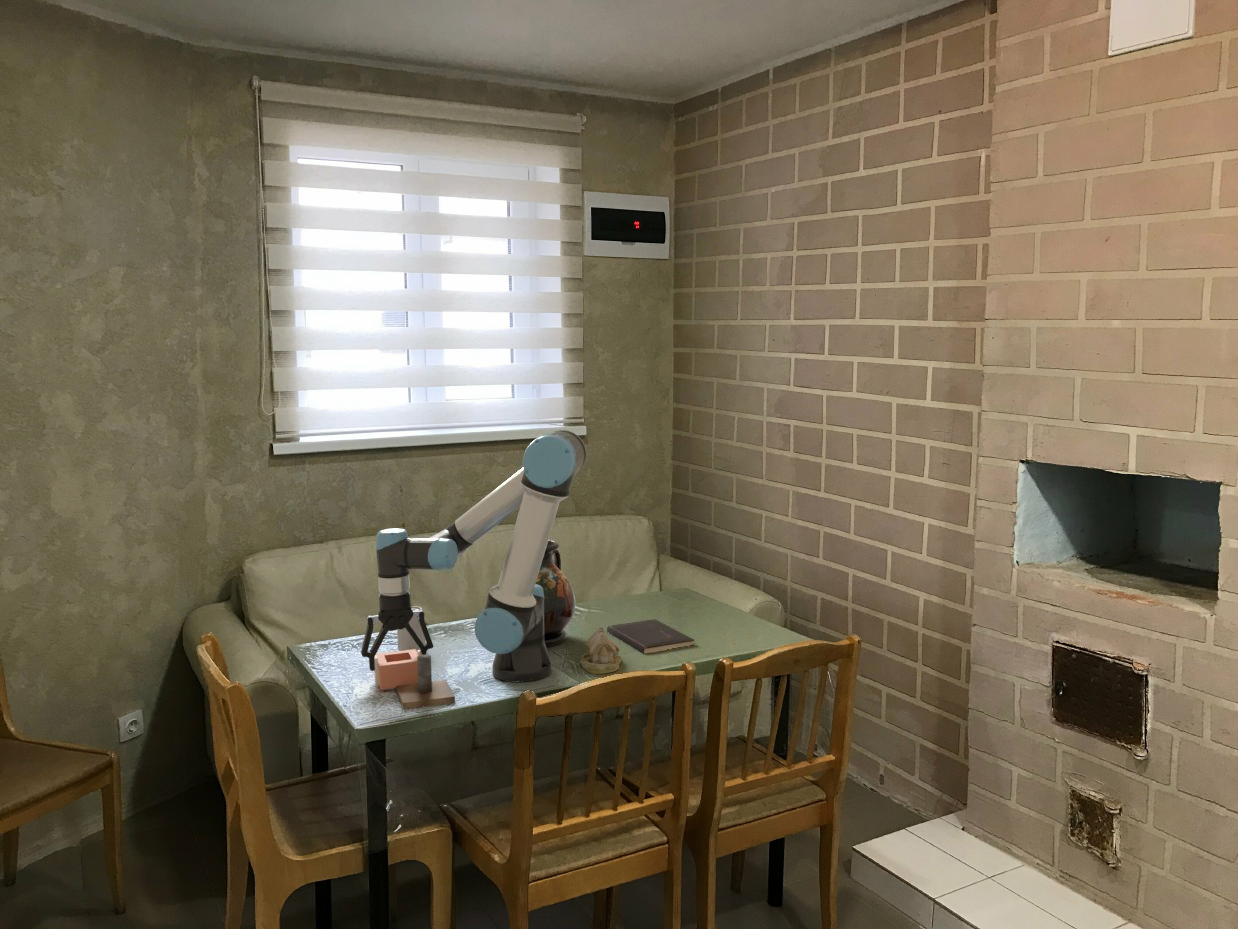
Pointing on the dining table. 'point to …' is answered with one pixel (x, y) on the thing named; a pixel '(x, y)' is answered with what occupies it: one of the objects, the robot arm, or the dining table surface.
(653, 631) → the hardcover book
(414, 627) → the can
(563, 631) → the amphora vase
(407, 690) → the post stand
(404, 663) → the collar
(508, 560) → the robot arm
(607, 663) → the ceramic model
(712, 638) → the dining table surface
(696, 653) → the dining table surface
